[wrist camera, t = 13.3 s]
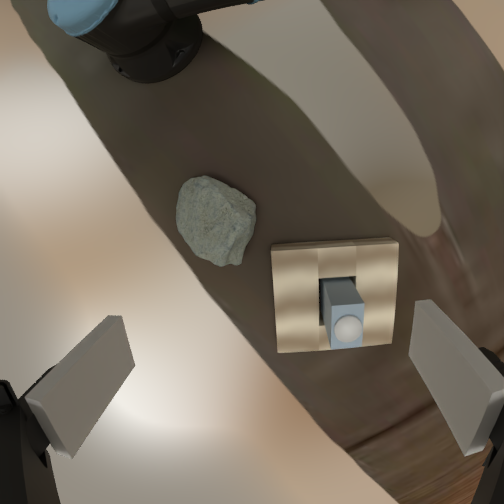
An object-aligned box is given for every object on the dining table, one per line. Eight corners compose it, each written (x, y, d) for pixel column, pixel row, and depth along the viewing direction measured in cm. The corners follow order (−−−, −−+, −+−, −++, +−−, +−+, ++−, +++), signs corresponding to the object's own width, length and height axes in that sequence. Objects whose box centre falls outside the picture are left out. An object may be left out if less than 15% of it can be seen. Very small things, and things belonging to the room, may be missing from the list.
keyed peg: (320, 309, 50) (331, 352, 38) (320, 273, 48) (332, 308, 36) (345, 307, 50) (363, 349, 37) (346, 271, 48) (366, 306, 36)
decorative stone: (282, 237, 48) (273, 202, 38) (226, 289, 46) (204, 265, 37) (226, 188, 53) (208, 150, 44) (175, 233, 51) (148, 201, 42)
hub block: (271, 244, 48) (270, 251, 44) (389, 237, 46) (398, 243, 42) (278, 340, 52) (277, 352, 48) (384, 331, 50) (391, 343, 46)
